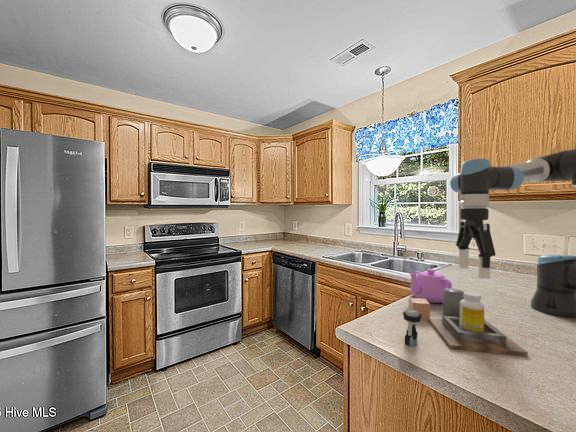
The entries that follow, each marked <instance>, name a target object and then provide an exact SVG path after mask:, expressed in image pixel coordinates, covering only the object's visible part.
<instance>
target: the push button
mask: <svg viewBox="0 0 576 432" xmlns="http://www.w3.org/2000/svg"><path fill="white" fill-rule="evenodd" d="M402 316H403V320H405V321H406V322H407V323H408V324H407V326H408V327H407V329H406V333H405V336H404V345H407V346H410V347H413V346H414V345H418V336H419V334H418V332H417V328H416V324H418V323H420V322H421V320H422V319H421V318H422V315H421V314H419V312H418V311H416V310H413V309H409V308H408V309H406V310H405V311H403V312H402Z"/></svg>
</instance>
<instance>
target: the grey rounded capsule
mask: <svg viewBox="0 0 576 432" xmlns="http://www.w3.org/2000/svg"><path fill="white" fill-rule="evenodd" d="M464 292H465V291H463V290H461V289H458V288H445V289H443V303H442V316H451V317H460V301H461V300H463V299H464V296H463V294H464Z"/></svg>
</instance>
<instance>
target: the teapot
mask: <svg viewBox="0 0 576 432" xmlns="http://www.w3.org/2000/svg"><path fill="white" fill-rule="evenodd" d="M407 273H409V275H410V278H411V279H410V292H411V294H412V295H413V298H422V299H426V300H427V301H428V302H429V303H430V304H431V303H433V304H434V303H435V304H436V303H437V304H439V303H440V304H443V289H445V288H452V287H453V284H452V282H451V281H450V280H449V279H447V278H446V277H445V276H444V275H443V274H442V273H439V272H436V269H433V268H427V269H426V271H420V270H416V271H414V272H413V273H412V272H407Z"/></svg>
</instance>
